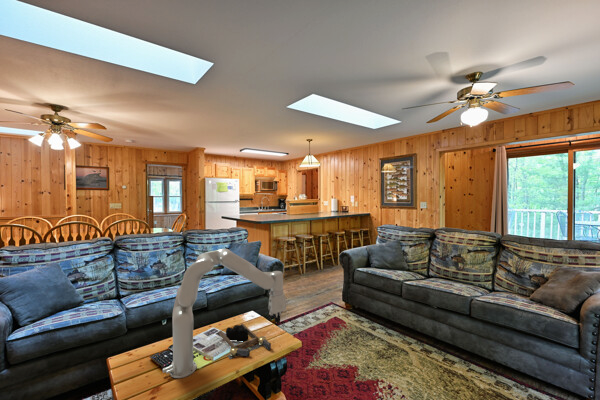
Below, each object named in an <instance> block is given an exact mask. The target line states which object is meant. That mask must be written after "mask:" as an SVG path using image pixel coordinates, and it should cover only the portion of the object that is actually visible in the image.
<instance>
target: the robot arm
mask: <svg viewBox="0 0 600 400" xmlns="http://www.w3.org/2000/svg"><path fill="white" fill-rule="evenodd" d="M217 265H222V266H223V267H224V268H226V269H228V270H230V271H232V272H234V273H236V274H237V275H239V276H241V277H243V278H245V280H248V281H250V282H251V283H253V284H254V285H256V286H258V287H260V288H262V289H264V290H270V291H269V292H268V294H269V297H268V298H269V299H268V312H269V313H268V315H270V316H274V322H275V324H280V323H281V316H282V313H284V312H285V311H286V310H287V301H286V300H287V299H286V294H285V292H284V274H283V271H280V270H274V271H262V270H260V269H259V268H257V267H256V266H254V264H252V263H251V262H250V261H248V260H246V259H244V258H242V257H241V256H239V255H238V254H236V253H234V252H233V251H231V250H230V249H228V248H221V249H217V250H212V251H206V252H203V253H200V254H199V255H198V256H197V257H196V261H194V262H192V264H190V266H188V267H187V269H186V270H185V272H184V274H183V278H182V282H181V285H180V286H179V287H178V289H177V291H176V294H175V295H176V296H175V300H174V305H173V309H172V362H171V364H170V365H169V366H166V367H163V368H162V373H163V374H164V373H166V374H169V375H170V377H172V378H174V379H182V378H186V377H189V376H190V375H192V374H194V372H195V371H196V370H197V362H196V361H194V314H193V305H194V304H195V302H196V301H197V298H198V293H199V287H200V284H201V280H202V277H203V276H205V275H206V274H208V273H210V272H211V271H213V269H214V267H215V266H217Z"/></svg>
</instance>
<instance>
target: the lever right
mask: <svg viewBox="0 0 600 400" xmlns="http://www.w3.org/2000/svg"><path fill="white" fill-rule="evenodd" d="M258 338H259V342H258V344H259V345H263V346H262V347H264V348H265V349H267V351H271V350H272V344H271V342H270V341H268V340H267V337H266V336H264V335H261V336H258Z"/></svg>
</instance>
